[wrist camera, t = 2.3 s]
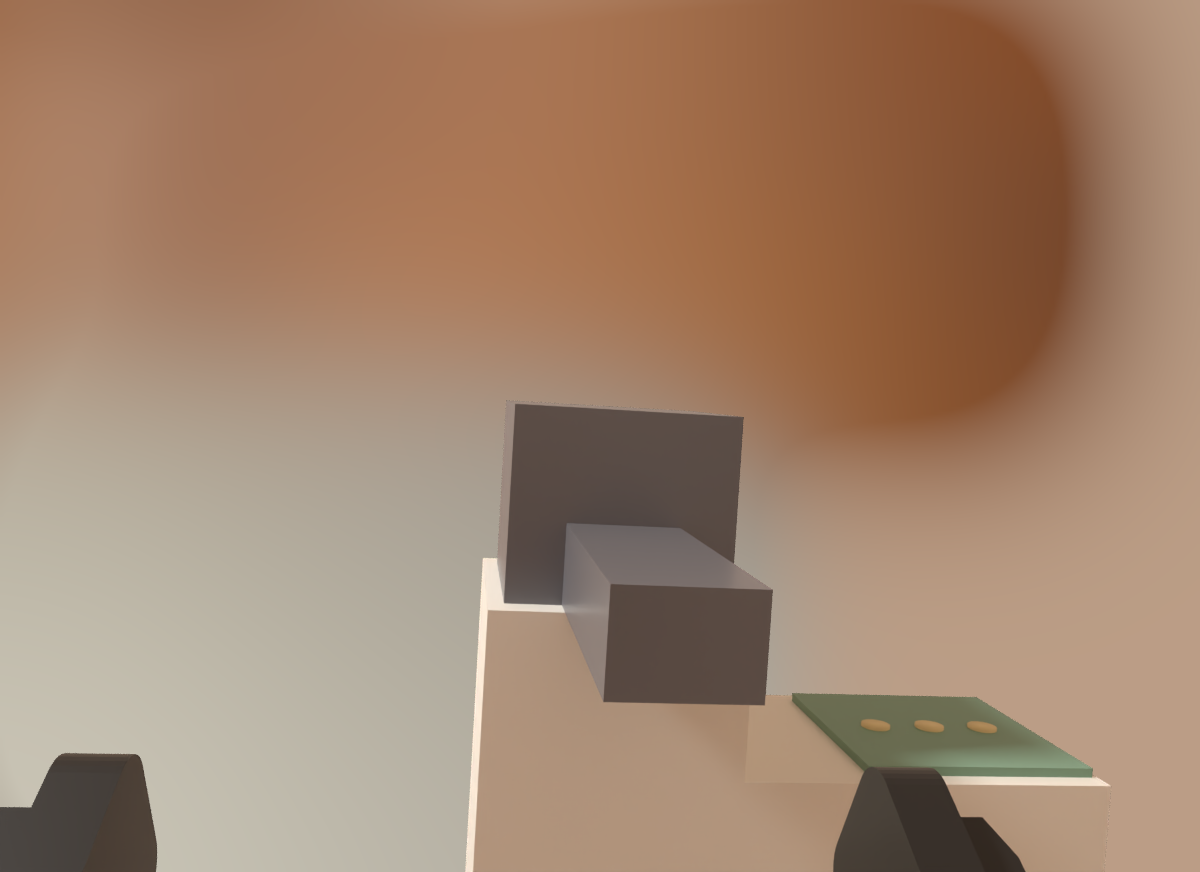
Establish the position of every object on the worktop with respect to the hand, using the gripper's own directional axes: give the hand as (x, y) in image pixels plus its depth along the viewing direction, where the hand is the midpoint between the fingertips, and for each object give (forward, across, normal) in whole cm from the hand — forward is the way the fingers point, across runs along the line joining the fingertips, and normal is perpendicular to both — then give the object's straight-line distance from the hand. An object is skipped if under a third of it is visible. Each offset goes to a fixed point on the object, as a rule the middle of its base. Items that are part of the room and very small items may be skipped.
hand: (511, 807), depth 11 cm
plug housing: (+15, -4, +10) cm, 18 cm away
